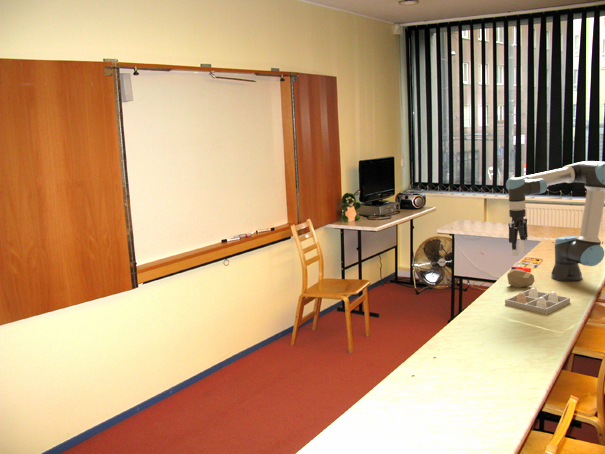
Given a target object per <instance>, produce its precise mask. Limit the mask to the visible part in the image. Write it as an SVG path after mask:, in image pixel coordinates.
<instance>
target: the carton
mask: <svg viewBox="0 0 605 454" xmlns="http://www.w3.org/2000/svg"><path fill="white" fill-rule="evenodd" d="M530 289H531V288H530ZM530 289H527V290H525V291H522V292H521V293H524V295H525V297H526V304H523V303H519V302H517V296H518V294H519V293H518V294H515V295H513V296H511V297H509V298H506V299H505V300H504V305H506V306H509V307H514V308H518V309H522V310H527V311H530V312H534V313H538V314H542V315H548V314H550V313H552V312H554V311H556V310H559V309H560V308H562V307H563V308H564V306H567V305H569V304H570V303H571V298H570V297H567V296H562V295H558V294H557V296H558V303H555V302H550V301H548V296H549V294H550V292H549V293H547V292H544V291H539V290H537V292H538V298H539V297H543V298H544V299H545V301H546V309H544V308H540V307H537V300H538V298H532V297H529V291H530Z"/></svg>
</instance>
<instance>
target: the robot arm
mask: <svg viewBox="0 0 605 454" xmlns="http://www.w3.org/2000/svg"><path fill="white" fill-rule="evenodd" d="M563 183H567V184H571V183H583V184H584V188H585V189H586V197H585V202H584V209H583V213H582V218H581V219H582V221H581V226H580V231H579V235H578V236H576V235H575V236H573V235H572V236H571V235H569V236H568V235H567V236H559V237H557V238H555V239H554V242H555V243H554V265H553V268H552V271H551V278H552V279H554V280H556V281H561V282H577V281H580V280H582V278H583V274H582V271H581V267H580V265H583V266H588V267H594V266H595V267H596V266H597V265H599V264H600V263H601V262H602V261H603V259H604V257H605V250H604V248H603V246H601V244H602V241H601V239H600V238H599V236H600V229H601V225H602V224H601V222H602V219H603V218H602V217H603V212H604V206H605V161H597V160H596V161H595V160H585V161H579V162H575V163H571V164H567V165H564V166H563V167H562V168H561V167H560V168H555V169H552V170H548V171H547V170H546V171H543V172H538V173H534V174H528V175H524V176H519V177H515V176H514V177H513V176H512V177H509V178H508V179H507V180H506V183H505V188H506V189H507V192H508V209H509V213H508V214H509V217H510V218H511V222H508V224H507V226H508V243H510V244H511V251H512V254H511V255H512V256H515V257H518V256H519V253H521V254H522V253H524V254H526V241H527V240H528V237H529V235H528V234H529V233H528V225H527V223H528V219H527V218H525V217H526V216H527V214H526V213H527V212H526V197H528V196H534V195H540V194H543V193H546V191H547V190H548V186H552V185H554V186H555V185H556V184H563ZM518 235H519V240H518ZM579 264H580V265H579Z"/></svg>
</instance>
